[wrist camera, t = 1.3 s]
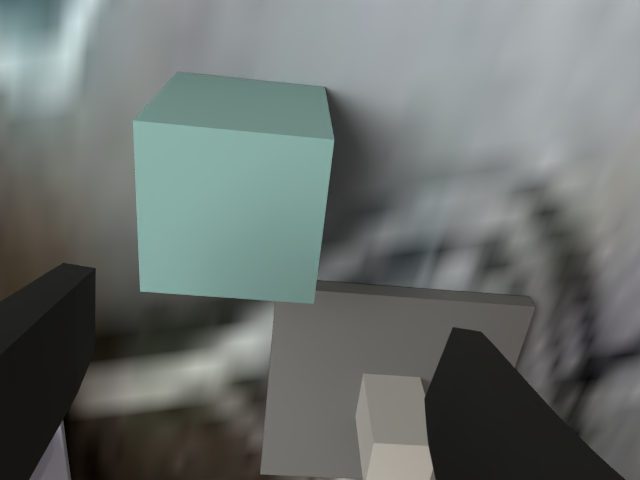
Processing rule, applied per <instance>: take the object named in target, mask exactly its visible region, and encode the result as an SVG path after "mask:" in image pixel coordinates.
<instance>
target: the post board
mask: <svg viewBox="0 0 640 480" xmlns="http://www.w3.org/2000/svg"><path fill="white" fill-rule="evenodd" d="M534 310H535V305H534V304H533V302H532V301H531V299H530V298H529V297H528V296H515V295H501V294H488V293H475V292H462V291H448V290H435V289H422V288H409V287H396V286H382V285H369V284H356V283H343V282H330V281H317V283H316V291H315V299H314V304H309V303H295V302H281V301H275V310H274V321H273V333H272V344H271V355H270V367H269V378H268V390H267V401H266V413H265V424H264V436H263V447H262V458H261V472H260V474H268V475H289V476H310V477H331V478H352V479H363V480H436V479H435V474H434V470H433V465H432V461H431V456H430V451H429V446H428V438H427V428H426V416H425V402H424V398H425V396H426V393H427V391H428V388H429V386H430V383H431V381H432V378H433V376H434V373H435V371H436V368H437V366H438V363H439V360H440V358H441V355H442V353H443V350H444V348H445V345H446V343H447V340H448V338H449V335H450V333H451V330H452V328H453V327H456V328H462V329H468V330H475V331H481V332H482V333H483V334H484V335H485V336H486V337H487V338H488V339H489V340H490V341H491V342H492V343H493V344H494V345H495V347H496V348H497V349H498V350H499V351H500V352H501V353H502V354H503V355H504V357H505V358H506V359H507V360H508V361H509V362H510V363H511V364H512V366H513V367H514V368H515V366H516V363H517V360H518V357H519V354H520V351H521V348H522V345H523V343H524V340H525V337H526V334H527V331H528V328H529V325H530V322H531V319H532V316H533V313H534Z"/></svg>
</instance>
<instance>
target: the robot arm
mask: <svg viewBox="0 0 640 480" xmlns="http://www.w3.org/2000/svg"><path fill="white" fill-rule="evenodd" d="M95 271H96V268H91V267H85V266H79V265H73V264H66V263H63V264H61V265H59V266H57V267H56V268H54V269H52V270H51V271H49V272H48V273H46V274H44V275H43V276H41V277H40V278H38V279H36V280H35V281H33V282H32V283H30V284H28V285H27V286H25V287H24V288H22V289H20V290H19V291H17V292H15V293H14V294H12V295H11V296H9V297H7V298H6V299H4V300H2V301H1V302H0V480H71V475H70V468H69V460H68V453H67V445H66V438H65V430H64V423H63V419H64V417H65V415H66V413H67V412H68V410H69V408H70V406H71V404H72V402H73V401H74V399H75V397H76V395H77V393H78V390H79V388H80V386H81V383H82V381H83V378H84V376H85V374H86V371H87V368H88V366H89V363H90V361H91V358H92V355H93V353H94V350H95ZM424 402H425V416H426V428H427V438H428V446H429V451H430V456H431V461H432V465H433V470H434V474H435V479H436V480H625V479H624V478H623V477H622V476H621V475H619V474H618V473H617V472H616V471H615V470H614V469H613V468H611V467H610V466H609V465H608V464H607V463H606V462H605V461H604V460H603V459H602V458H600V457H599V456H598V455H597V454H596V453H595V452H594V451H593V450H592V449H591V448H590V447H589V446H588V445H587V444H586V443H585V442H584V441H583V440H582V439H581V438H580V437H579V436H578V435H577V434H576V433H575V432H574V431H573V430H572V429H571V428H570V427H569V426H568V425H567V424H566V423H565V422H564V421H563V420H562V419H561V418H560V417H559V416H558V415H557V414H556V413H555V412H554V411H553V410H552V409H551V408H550V407H549V406H548V404H547V403H546V402H545V401H544V400H543V399H542V398H541V397H540V396H539V395H538V394H537V392H536V391H535V390H534V389H533V388H532V387H531V386H530V385H529V384H528V383H527V381H526V380H525V379H524V378H523V377H522V376H521V375H520V374H519V372H518V371H517V370H516V369H515V368H514V367H513V366H512V364H511V363H510V362H509V361H508V360H507V359H506V358H505V357H504V355H503V354H502V353H501V352H500V351H499V350H498V349H497V348H496V347H495V345H494V344H493V343H492V342H491V341H490V340H489V339H488V338H487V337H486V336H485V335H484V334H483V333H482V332H481V331H475V330H468V329H462V328H456V327H453V328H452V330H451V333H450V335H449V338H448V340H447V343H446V345H445V348H444V350H443V353H442V355H441V358H440V360H439V363H438V366H437V368H436V371H435V373H434V376H433V378H432V381H431V383H430V386H429V388H428V391H427V393H426V396H425V398H424Z"/></svg>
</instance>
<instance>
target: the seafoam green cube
mask: <svg viewBox="0 0 640 480" xmlns="http://www.w3.org/2000/svg"><path fill="white" fill-rule="evenodd" d="M133 133H134V156H135V180H136V203H137V226H138V250H139V273H140V291H143V292H157V293H171V294H185V295H198V296H212V297H226V298H240V299H254V300H268V301H281V302H295V303H309V304H314V299H315V291H316V283H317V275H318V267H319V259H320V251H321V243H322V235H323V227H324V219H325V211H326V203H327V195H328V187H329V179H330V171H331V163H332V155H333V147H334V135H333V129H332V124H331V118H330V113H329V107H328V102H327V96H326V90H325V87H319V86H309V85H300V84H290V83H280V82H270V81H261V80H251V79H241V78H232V77H222V76H212V75H203V74H193V73H183V72H177V73H176V74H175V75H174V76H173V78H172V79H171V80H170V81H169V82H168V83H167V84H166V85H165V86H164V87H163V88H162V90H161V91H160V92H159V93H158V94H157V95H156V96H155V97H154V98H153V99H152V100H151V101H150V103H149V104H148V105H147V106H146V107H145V108H144V109H143V110H142V111H141V112H140V113H139V115H138V116H137V117H136V118H135V119H134V120H133Z"/></svg>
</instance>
